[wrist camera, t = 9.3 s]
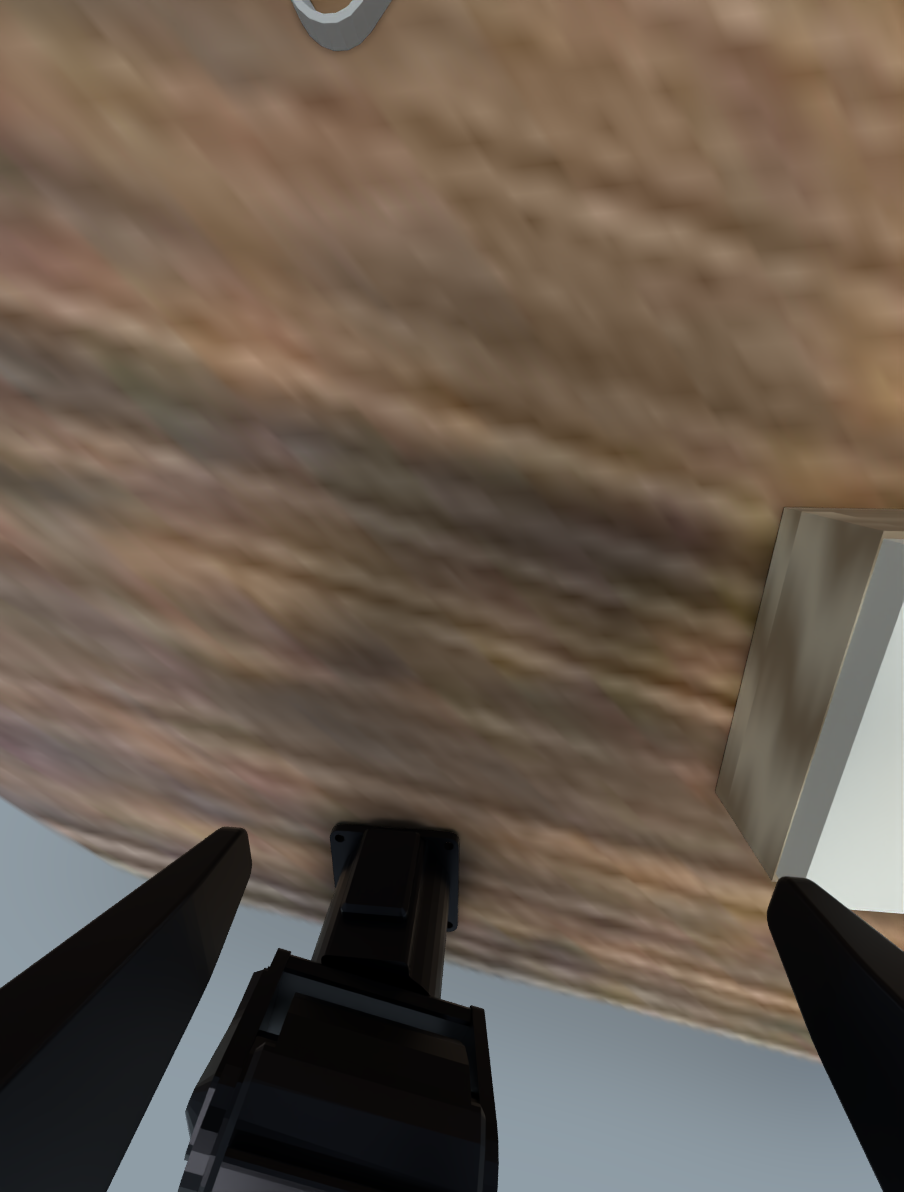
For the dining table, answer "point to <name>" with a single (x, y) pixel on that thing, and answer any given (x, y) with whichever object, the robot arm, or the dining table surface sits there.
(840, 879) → the cabinet door
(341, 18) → the adjustable wrench
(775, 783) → the cabinet
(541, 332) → the dining table surface
